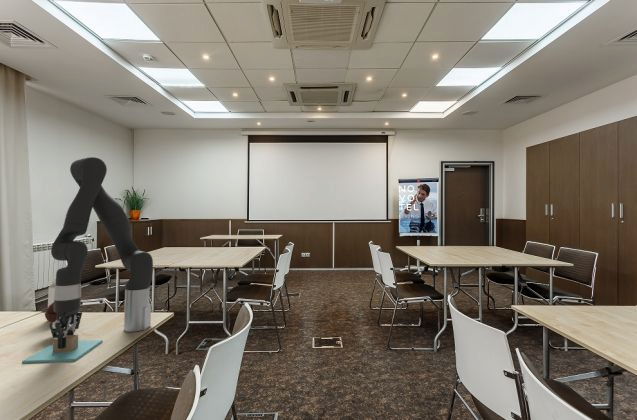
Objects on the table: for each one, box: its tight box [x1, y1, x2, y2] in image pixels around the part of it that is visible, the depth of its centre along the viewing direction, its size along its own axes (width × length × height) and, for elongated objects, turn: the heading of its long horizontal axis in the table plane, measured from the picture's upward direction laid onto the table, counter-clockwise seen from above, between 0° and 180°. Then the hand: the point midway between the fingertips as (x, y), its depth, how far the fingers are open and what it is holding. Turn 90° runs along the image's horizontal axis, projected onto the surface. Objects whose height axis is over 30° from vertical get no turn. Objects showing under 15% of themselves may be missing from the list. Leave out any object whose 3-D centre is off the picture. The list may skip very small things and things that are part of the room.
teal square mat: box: [21, 334, 103, 364], centre depth 111 cm, size 16×16×5 cm
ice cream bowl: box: [44, 302, 80, 334], centre depth 127 cm, size 11×11×15 cm
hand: (65, 345), depth 111 cm, fingers closed on teal square mat, 3 cm apart
